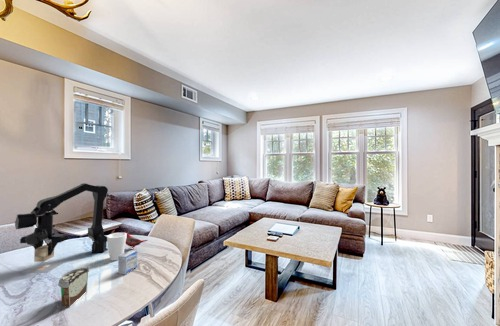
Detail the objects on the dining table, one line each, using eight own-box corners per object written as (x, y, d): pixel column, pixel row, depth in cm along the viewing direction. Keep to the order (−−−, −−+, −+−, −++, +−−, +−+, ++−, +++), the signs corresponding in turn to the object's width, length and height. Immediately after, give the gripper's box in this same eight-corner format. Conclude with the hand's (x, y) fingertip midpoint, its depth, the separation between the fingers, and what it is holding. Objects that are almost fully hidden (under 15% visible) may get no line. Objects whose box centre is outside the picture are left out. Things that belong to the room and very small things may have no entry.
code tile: (65, 262, 117) (65, 261, 117) (46, 273, 105) (46, 272, 105) (41, 262, 116) (41, 262, 116) (20, 273, 104) (20, 273, 104)
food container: (73, 290, 91) (73, 266, 91) (88, 290, 91) (89, 266, 92) (48, 310, 79) (49, 282, 79) (66, 309, 79) (67, 282, 79)
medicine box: (125, 275, 105) (126, 256, 105) (117, 274, 105) (118, 256, 105) (137, 267, 112) (137, 250, 112) (129, 266, 113) (130, 249, 113)
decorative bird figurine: (123, 247, 139) (123, 231, 139) (148, 249, 136) (149, 233, 136) (119, 249, 136) (120, 233, 136) (146, 251, 133) (146, 234, 134)
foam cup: (102, 259, 120) (103, 236, 120) (118, 253, 129) (118, 231, 129) (114, 263, 117) (115, 238, 117) (129, 256, 125) (130, 233, 125)
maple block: (53, 256, 114) (54, 244, 114) (43, 261, 108) (44, 249, 108) (44, 256, 113) (45, 244, 113) (34, 261, 107) (34, 249, 107)
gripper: (9, 229, 102) (8, 262, 102) (51, 229, 103) (50, 262, 103) (31, 223, 113) (30, 253, 113) (69, 222, 114) (68, 252, 114)
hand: (44, 255), depth 110 cm, fingers closed on maple block, 4 cm apart
